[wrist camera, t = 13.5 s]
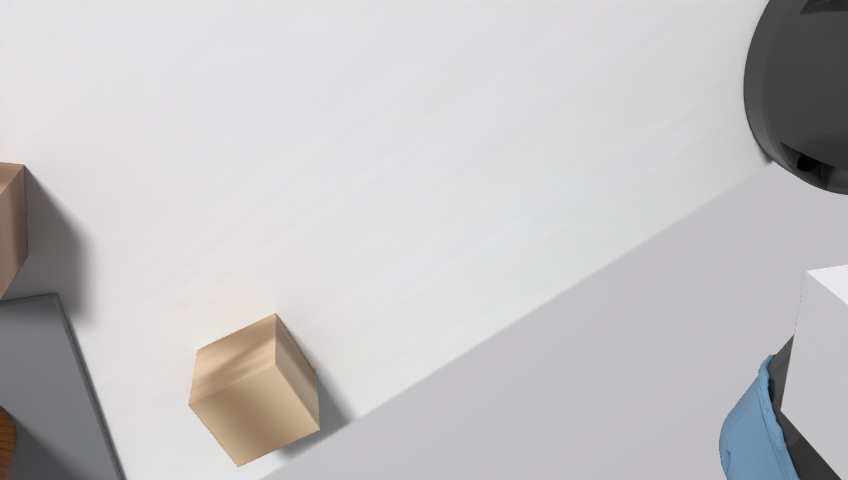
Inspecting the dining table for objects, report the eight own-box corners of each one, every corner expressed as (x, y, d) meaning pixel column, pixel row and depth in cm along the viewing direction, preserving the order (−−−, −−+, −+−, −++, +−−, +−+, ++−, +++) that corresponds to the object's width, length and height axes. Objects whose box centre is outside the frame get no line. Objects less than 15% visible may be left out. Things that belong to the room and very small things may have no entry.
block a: (275, 312, 44) (275, 364, 39) (316, 373, 46) (320, 429, 42) (197, 349, 44) (188, 405, 40) (242, 408, 46) (238, 467, 42)
